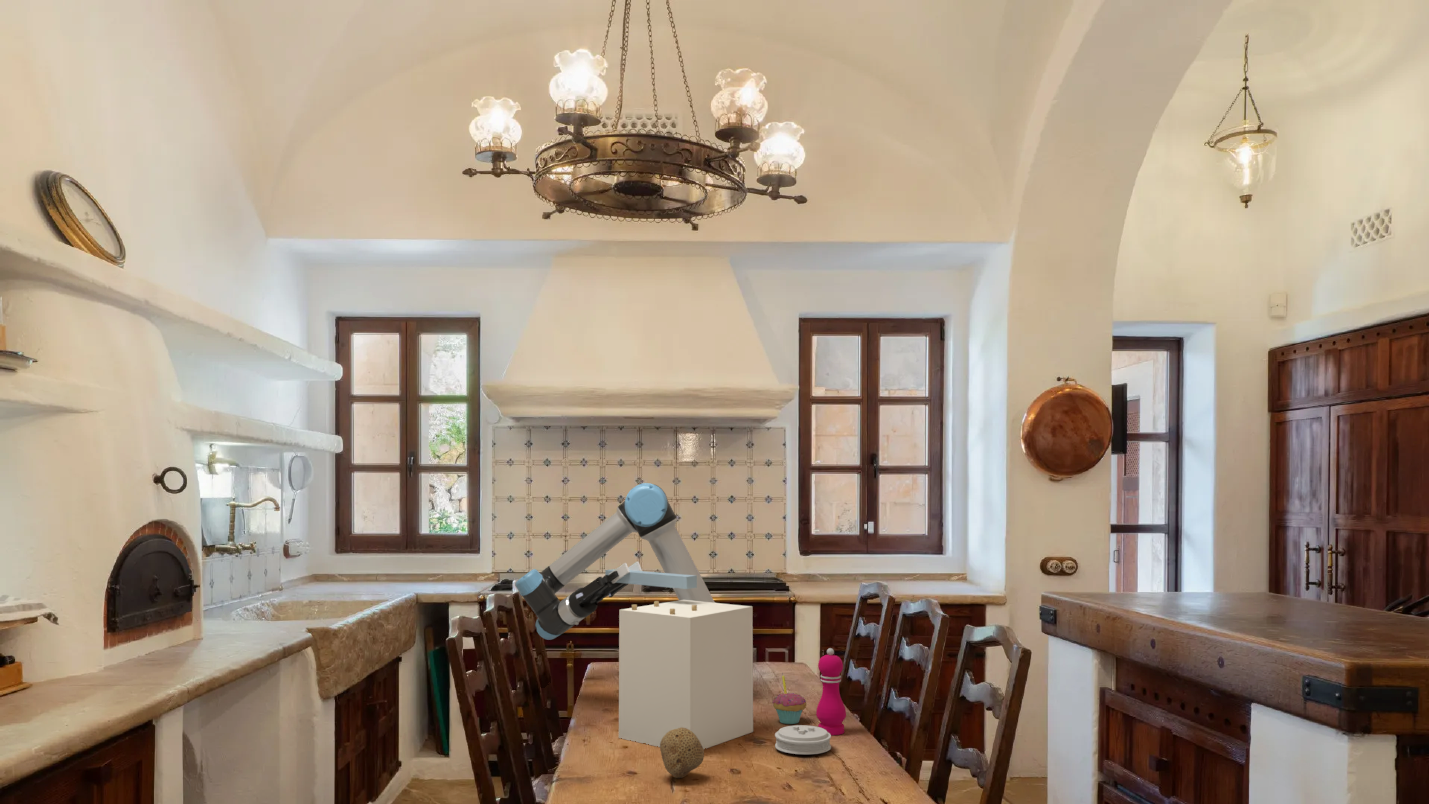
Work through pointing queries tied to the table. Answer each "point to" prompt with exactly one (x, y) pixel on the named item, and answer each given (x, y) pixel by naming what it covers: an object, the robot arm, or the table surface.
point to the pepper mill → (831, 695)
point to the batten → (658, 579)
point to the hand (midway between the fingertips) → (633, 566)
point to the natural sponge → (681, 752)
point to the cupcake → (789, 706)
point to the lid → (802, 739)
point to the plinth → (685, 671)
